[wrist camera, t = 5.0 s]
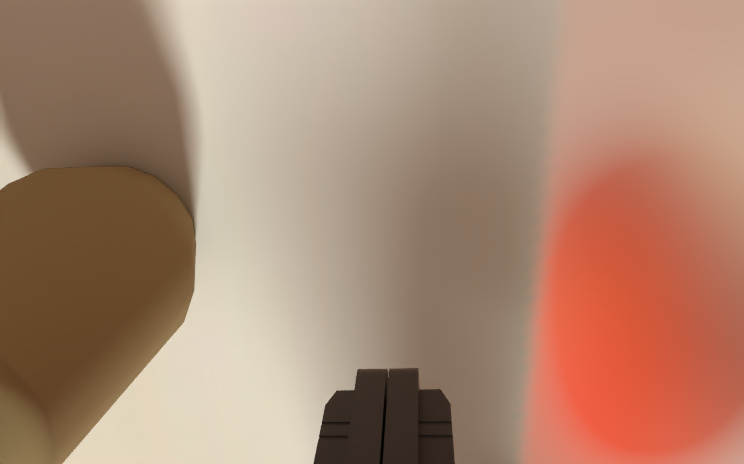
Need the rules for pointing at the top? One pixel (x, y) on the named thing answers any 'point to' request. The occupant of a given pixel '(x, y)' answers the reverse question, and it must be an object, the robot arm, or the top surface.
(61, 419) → the squeeze bottle
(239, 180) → the top surface
